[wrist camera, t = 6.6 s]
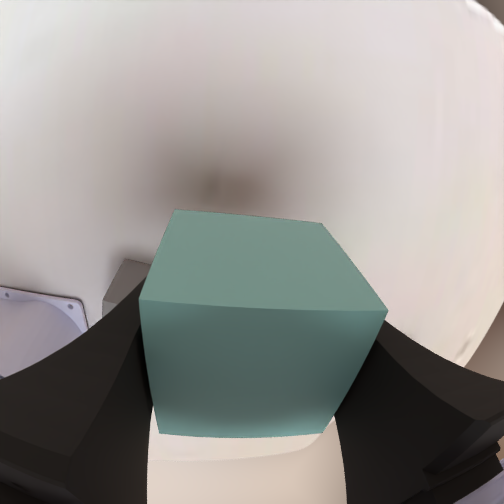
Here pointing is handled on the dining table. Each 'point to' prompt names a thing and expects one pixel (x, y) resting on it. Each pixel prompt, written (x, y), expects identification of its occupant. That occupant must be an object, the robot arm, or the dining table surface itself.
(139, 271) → the grey block
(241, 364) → the teal block
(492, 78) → the dining table surface
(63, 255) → the dining table surface
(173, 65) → the dining table surface
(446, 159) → the dining table surface
